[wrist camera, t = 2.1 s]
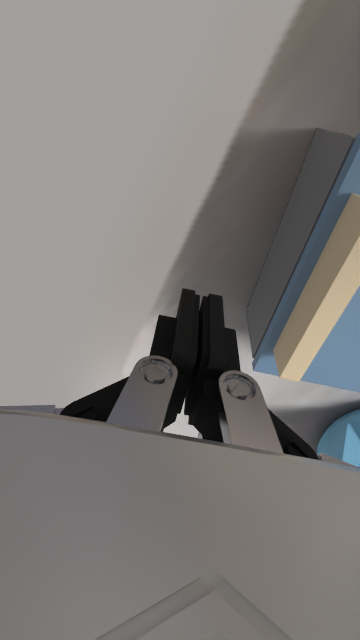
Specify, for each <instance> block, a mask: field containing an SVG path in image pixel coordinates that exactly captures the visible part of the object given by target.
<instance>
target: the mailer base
mask: <svg viewBox="0 0 360 640" xmlns="http://www.w3.org/2000/svg"><path fill="white" fill-rule="evenodd" d="M355 139H356V137H352V136H348V135H344V134H339V133H335V132H330V131H326V130H322V129H317V130H316V132H315V135H314V137H313V140H312V143H311V145H310V148H309V150H308V153H307V155H306V158H305V161H304V163H303V166H302V168H301V171H300V173H299V176H298V179H297V181H296V184H295V186H294V189H293V192H292V194H291V197H290V199H289V202H288V204H287V207H286V210H285V212H284V215H283V217H282V220H281V222H280V225H279V228H278V230H277V233H276V235H275V238H274V241H273V243H272V246H271V248H270V251H269V253H268V256H267V259H266V261H265V264H264V266H263V269H262V271H261V274H260V277H259V279H258V282H257V284H256V287H255V290H254V292H253V295H252V297H251V300H250V302H249V305H248V308H247V310H246V315H247V322H248V329H249V336H250V343H251V350H252V357H253V358H255V356H256V354H257V351H258V349H259V347H260V345H261V343H262V341H263V338H264V336H265V334H266V332H267V330H268V328H269V325H270V323H271V321H272V319H273V317H274V315H275V312H276V310H277V308H278V306H279V304H280V302H281V299H282V297H283V295H284V293H285V291H286V289H287V286H288V284H289V282H290V280H291V278H292V276H293V273H294V271H295V269H296V267H297V265H298V263H299V260H300V258H301V256H302V254H303V252H304V250H305V247H306V245H307V243H308V241H309V239H310V237H311V234H312V232H313V230H314V228H315V226H316V224H317V221H318V219H319V217H320V215H321V213H322V211H323V208H324V206H325V204H326V202H327V200H328V198H329V195H330V193H331V191H332V189H333V187H334V185H335V183H336V180H337V178H338V176H339V174H340V172H341V170H342V167H343V165H344V163H345V161H346V159H347V157H348V154H349V152H350V150H351V148H352V146H353V144H354V141H355Z"/></svg>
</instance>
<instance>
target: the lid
mask: <svg viewBox="0 0 360 640" xmlns="http://www.w3.org/2000/svg"><path fill="white" fill-rule="evenodd" d="M252 365H253V371H257V372H262V373H267V374H272V375H277V376H279V378H282V379H287V380H292V381H297V382H299V381H300V380H301V381H306V382H311V383H316V384H321V385H326V386H331V387H336V388H341V389H346V390H351V391H356V392H360V134H358V135H357V137H356V139H355V141H354V144H353V146H352V148H351V150H350V152H349V154H348V157H347V159H346V161H345V163H344V165H343V167H342V170H341V172H340V174H339V176H338V178H337V180H336V183H335V185H334V187H333V189H332V191H331V193H330V195H329V198H328V200H327V202H326V204H325V206H324V208H323V211H322V213H321V215H320V217H319V219H318V221H317V224H316V226H315V228H314V230H313V232H312V234H311V237H310V239H309V241H308V243H307V245H306V247H305V250H304V252H303V254H302V256H301V258H300V260H299V263H298V265H297V267H296V269H295V271H294V273H293V276H292V278H291V280H290V282H289V284H288V286H287V289H286V291H285V293H284V295H283V297H282V299H281V302H280V304H279V306H278V308H277V310H276V312H275V315H274V317H273V319H272V321H271V323H270V325H269V328H268V330H267V332H266V334H265V336H264V338H263V341H262V343H261V345H260V347H259V349H258V351H257V354H256V356H255V358H254V360H253V362H252Z"/></svg>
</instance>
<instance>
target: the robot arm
mask: <svg viewBox="0 0 360 640" xmlns="http://www.w3.org/2000/svg"><path fill="white" fill-rule="evenodd" d="M199 302H200V295H196V294H195V291H194V290H188V289H182V293H181V298H180V302H179V307H178V312H177V316H176V318H173V317H168V316H163V315H159V317H158V321H157V326H156V330H155V334H154V339H153V343H152V347H151V351H150V356H147V357H143V358H142V359H140V360H139V361H138V362H137V363H136V365H135V367H134V369H133V371H132V372H131V374H130V376H129V377H127V378H125V379H122V380H120V381H118V382H116V383H114V384H112V385H110V386H107V387H105V388H103V389H101V390H98V391H96V392H94V393H92V394H90V395H88V396H85V397H83V398H81V399H79V400H77V401H74V402H72V403H71V404H69V405H68V406H66V407H65V408H56V407H55V405H34V406H33V405H32V406H0V640H360V467H357V466H355V465H352V464H349V463H347V462H344V461H342V460H339V459H337V458H334V457H332V456H329V455H326V454H324V453H320V454H319V455H317V454H316V453H315V452H314V450H313V449H312V448H311V447H310V446H309V445H308V444H307V443H306V442H305V441H304V440H303V439H301V438H300V437H299V436H298V435H297V434H296V433H295V432H293V431H292V430H291V429H290V428H289V427H288V426H287V425H286V424H284V423H283V422H282V421H281V420H280V419H279V418H278V417H277V416H275V415H274V414H273V413H272V412H271V411H270V410H269V409H267V406H266V403H265V400H264V397H263V395H262V392H261V389H260V387H259V385H258V383H257V382H256V381H255V380H254V379H253V378H252V377H251V376H249V375H248V374H246V373H243V372H241V371H240V362H239V354H238V346H237V338H236V331H235V330H234V329H229V328H225V327H224V313H223V300H222V296H219V295H214V294H209V295H208V297H206V296H203V299H202V302H201V306H200V310H199ZM184 399H185V408H184V415H189V423H188V424H189V425H193V426H194V427H195V428H196V429H197V430H198V431H199V434H198V438H194V437H188V436H182V435H176V434H170V433H164V432H163V430H164V428H165V427H167V426H169V425H170V424H172V423H173V422H175V420H176V417H177V413H178V414H180V413H181V409H182V406H183V403H184Z"/></svg>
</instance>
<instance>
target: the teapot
mask: <svg viewBox="0 0 360 640" xmlns="http://www.w3.org/2000/svg"><path fill="white" fill-rule="evenodd" d="M320 453H324V454H326V455H329V456H332V457H334V458H337V459H339V460H342V461H344V462H347V463H349V464H352V465H355V466H357V467H360V409H357V410H354V411H352V412H349V413H347V414H345V415H343V416H341V417H340V418H338V419H337V420H335V421H334V422H333V423H332V424H331V425H330V426H329V427H328V428H327V430H326V431H325V433H324V434H323V436H322V437H321V439H320V441H319V444H318V447H317V455H319V454H320Z"/></svg>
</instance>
